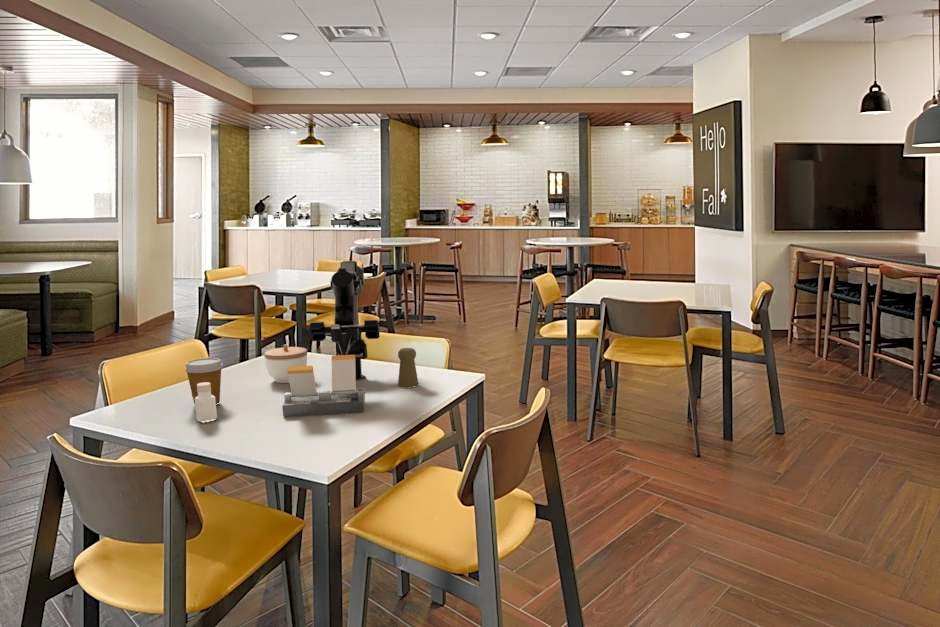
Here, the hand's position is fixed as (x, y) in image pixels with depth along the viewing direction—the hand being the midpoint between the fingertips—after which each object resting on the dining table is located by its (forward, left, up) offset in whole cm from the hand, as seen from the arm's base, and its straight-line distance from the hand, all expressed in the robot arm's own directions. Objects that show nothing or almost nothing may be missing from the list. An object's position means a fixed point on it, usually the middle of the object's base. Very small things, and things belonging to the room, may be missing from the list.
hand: (344, 356), depth 179 cm
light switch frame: (+4, -7, -12) cm, 15 cm away
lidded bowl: (-33, -6, -13) cm, 36 cm away
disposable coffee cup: (-20, -32, -13) cm, 40 cm away
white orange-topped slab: (+2, -12, -8) cm, 15 cm away
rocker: (+6, -3, -8) cm, 11 cm away
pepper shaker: (-5, +21, -13) cm, 25 cm away
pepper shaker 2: (-5, -35, -13) cm, 37 cm away
